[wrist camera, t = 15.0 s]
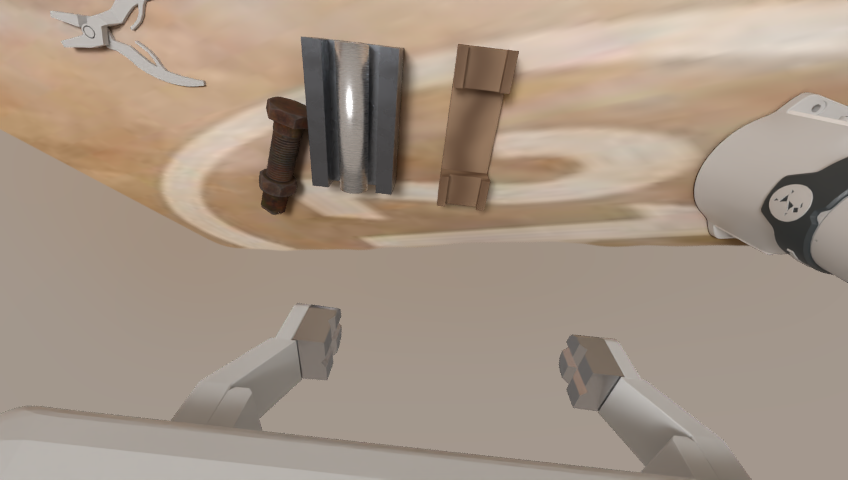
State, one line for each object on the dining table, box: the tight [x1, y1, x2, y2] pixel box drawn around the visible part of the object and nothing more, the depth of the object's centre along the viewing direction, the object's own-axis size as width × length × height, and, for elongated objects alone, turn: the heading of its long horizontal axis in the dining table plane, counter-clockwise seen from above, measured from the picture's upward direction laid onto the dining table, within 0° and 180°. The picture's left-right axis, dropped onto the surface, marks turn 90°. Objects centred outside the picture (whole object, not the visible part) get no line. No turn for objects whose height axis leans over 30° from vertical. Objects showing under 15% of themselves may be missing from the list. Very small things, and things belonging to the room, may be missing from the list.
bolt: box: [259, 97, 308, 215], centre depth 42 cm, size 6×5×15 cm
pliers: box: [50, 0, 206, 86], centre depth 37 cm, size 10×2×15 cm
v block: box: [301, 37, 404, 194], centre depth 39 cm, size 10×16×4 cm, turn 174°
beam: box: [437, 44, 519, 211], centre depth 39 cm, size 6×18×4 cm, turn 174°
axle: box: [334, 41, 369, 193], centre depth 38 cm, size 16×4×4 cm, turn 174°
